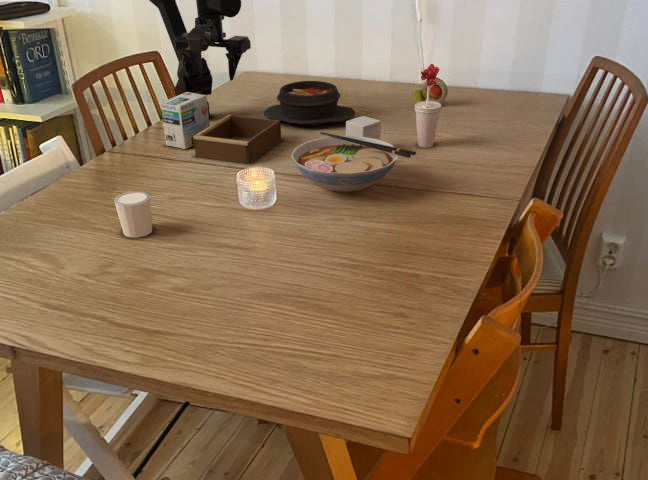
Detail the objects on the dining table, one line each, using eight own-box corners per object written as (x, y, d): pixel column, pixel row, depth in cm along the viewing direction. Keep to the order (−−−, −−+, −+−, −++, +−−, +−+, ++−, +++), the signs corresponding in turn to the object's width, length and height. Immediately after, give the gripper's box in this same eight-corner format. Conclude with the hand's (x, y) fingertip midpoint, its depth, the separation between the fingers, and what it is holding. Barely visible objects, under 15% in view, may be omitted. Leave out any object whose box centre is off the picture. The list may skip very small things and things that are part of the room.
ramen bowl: (267, 188, 161) (265, 151, 156) (335, 159, 174) (335, 124, 169) (355, 218, 146) (356, 179, 142) (422, 184, 160) (425, 147, 155)
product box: (362, 157, 174) (363, 126, 170) (344, 151, 178) (344, 120, 174) (380, 150, 177) (381, 120, 173) (362, 144, 181) (363, 115, 177)
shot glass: (125, 242, 141) (119, 207, 137) (116, 228, 146) (109, 195, 142) (160, 233, 143) (154, 200, 139) (149, 221, 148) (143, 188, 144)
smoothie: (409, 147, 179) (412, 88, 170) (416, 139, 183) (419, 81, 175) (435, 150, 176) (439, 90, 168) (441, 142, 181) (446, 83, 173)
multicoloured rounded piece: (440, 110, 209) (413, 94, 210) (459, 74, 202) (430, 58, 202) (434, 116, 204) (406, 100, 205) (453, 80, 197) (424, 63, 198)
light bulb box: (185, 150, 182) (179, 105, 176) (164, 145, 185) (158, 102, 179) (212, 137, 189) (207, 94, 183) (191, 133, 193) (186, 91, 186)
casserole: (360, 111, 203) (361, 80, 199) (348, 133, 189) (348, 99, 184) (273, 107, 209) (272, 77, 204) (255, 128, 194) (252, 96, 189)
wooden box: (195, 156, 178) (193, 136, 175) (230, 134, 191) (228, 114, 188) (249, 163, 173) (247, 142, 170) (281, 140, 186) (280, 120, 183)
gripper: (158, 16, 175) (167, 84, 184) (227, 20, 168) (232, 90, 178) (182, 7, 183) (190, 73, 192) (249, 11, 177) (253, 78, 186)
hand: (215, 78), depth 187 cm, fingers open, 9 cm apart
